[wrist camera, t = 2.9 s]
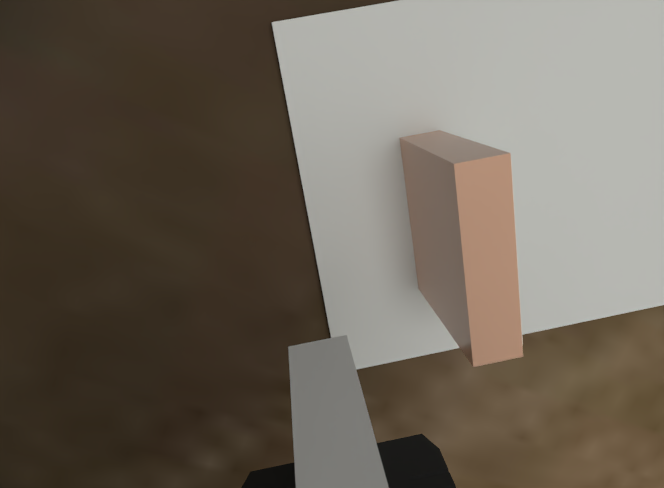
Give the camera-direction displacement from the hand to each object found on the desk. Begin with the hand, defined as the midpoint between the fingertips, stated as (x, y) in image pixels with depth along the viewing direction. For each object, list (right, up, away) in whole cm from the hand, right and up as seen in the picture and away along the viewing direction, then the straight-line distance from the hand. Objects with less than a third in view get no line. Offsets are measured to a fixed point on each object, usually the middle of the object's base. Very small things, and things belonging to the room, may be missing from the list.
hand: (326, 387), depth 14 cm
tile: (+5, +5, +13) cm, 15 cm away
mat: (+9, +7, +14) cm, 18 cm away
